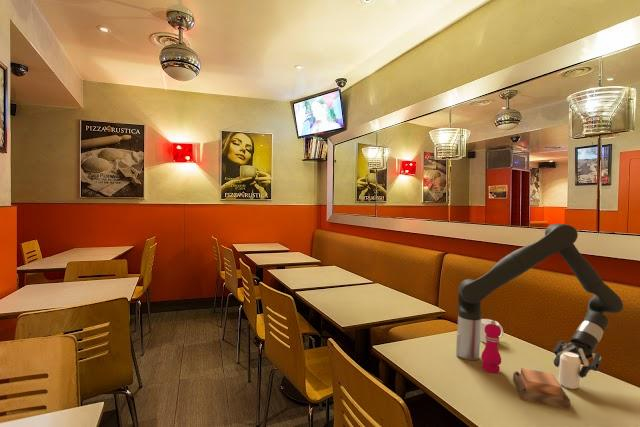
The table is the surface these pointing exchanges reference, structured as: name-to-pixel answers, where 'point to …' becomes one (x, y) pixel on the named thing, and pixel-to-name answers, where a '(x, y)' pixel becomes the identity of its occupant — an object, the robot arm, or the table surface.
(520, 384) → the brick plinth
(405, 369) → the table surface
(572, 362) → the beverage can
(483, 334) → the mug
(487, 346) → the pepper mill
